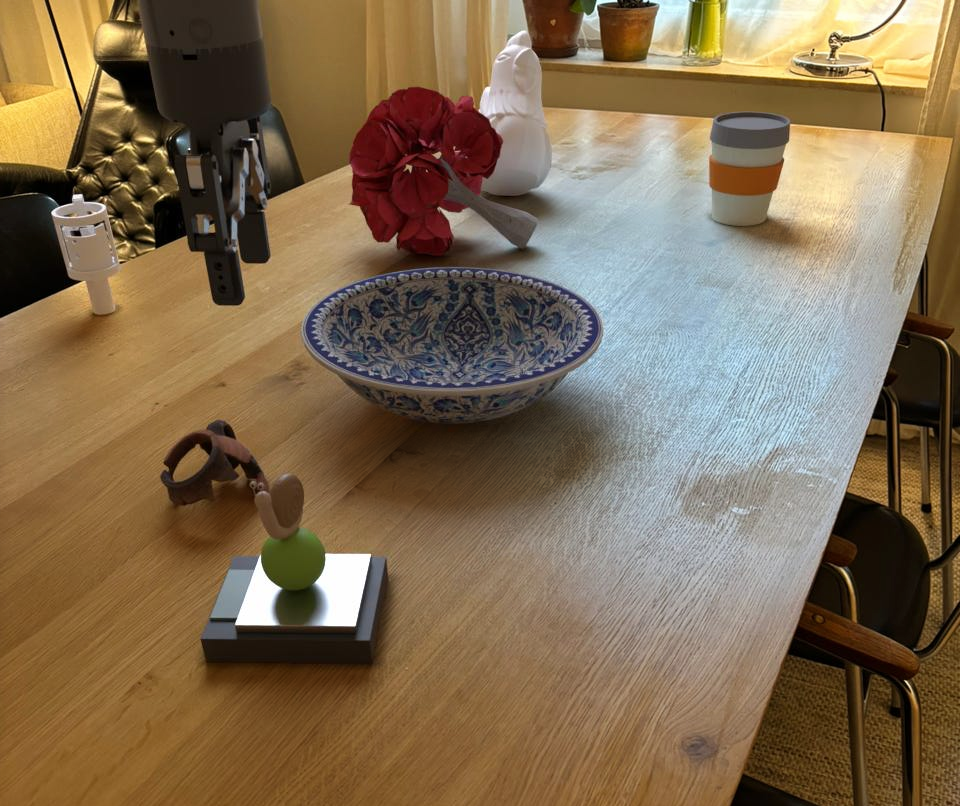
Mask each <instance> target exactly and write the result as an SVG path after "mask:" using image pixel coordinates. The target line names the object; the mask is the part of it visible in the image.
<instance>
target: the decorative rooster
mask: <svg viewBox="0 0 960 806" xmlns="http://www.w3.org/2000/svg"><path fill="white" fill-rule="evenodd" d="M532 44H533V41H532V39H531V36H530V34H529V32H528V31H527V30H521V31H519V32H518V33H516V34H515V35H513V36H511V37H510V38H509V40H508V41H506V44H505V47H504V49H503V50H502V51H500V52H499V54H498V55H497V56H496V57H495V60H494V62H493V65H492V69H491V76H490V84H489V86H486V87H485V88H484V90H483V92H482V95H481V97H480V101H479V110H478V112H479V113H481V114H483V115H484V116H485V117H487V118H488V119H489V120H490V124H491V127H492V128H494V129H495V130H496V133H497V134H499V135H500V136H501V137H502V140H503V144H502V148H501V151H500V157H499V158H498V160H497V164H496V167H495V169H494V172H493V174H492V175H491V176H490V177H489V178H488V179H486V178H484V177H483V181H482V185H481V189H480V190H481V191H483V192H486V193H487V194H491V195H493V196H505V197H506V196H509V197H519V196H523V195H524V194H527V193H528V192H530V191H532V190H536V189H538V188H539V187H540V186H542V185H543V183H544V182H545V181H546V179H547V177H548V175H549V173H550V171H551V168H552V162H553V149H552V143H551V140H550V136H549V132H548V131H547V128H548V126H547V125H548V124H547V122H546V117H545V113H544V108H543V101H542V100H543V99H542V87H543V86H542V85H543V72H542V65H541V64H540V63H541V62H540V58H539V57H538V55H537V54H536V52H535V51H534V50H533V48H532V47H533V46H532ZM466 158H467V157H466Z"/></svg>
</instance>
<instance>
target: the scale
mask: <svg viewBox="0 0 960 806" xmlns="http://www.w3.org/2000/svg"><path fill="white" fill-rule="evenodd" d="M259 557H260V555H233V556H232V558H231V562H230V564H229V567H228V569H227V571H226V573H225V576H224V579H223V581H222V584H221V586H220V589H219V591H218V594H217V597H216V599H215V601H214V604H213V607H212V609H211V611H210V614H209V617H208V619H207V622H206V624H205V626H204V629H203V631H202V634H201V637H200V643H201V646H202V650H203V655H204V659H205V662H206V663H265V664H266V663H269V664H270V663H273V664H274V663H275V664H276V663H279V664H353V665H354V664H357V665H358V664H361V665H363V664H365V665H366V664H367V665H368V664H369V665H370V664H371V665H372V664H374V659H375V658H374V657H375V651H376V647H377V646H376V645H377V641H378V637H379V631H380V626H381V622H382V621H381V620H382V615H383V610H384V605H385V600H386V599H385V598H386V595H387V588H388V584H389V572H388V571H389V570H388V561H387V560H388V559H387V556H371V558H372V563H371V568H370V572H369V577H368V582H367V586H366V591H365V596H364V600H363V605H362V610H361V614H360V619H359V624H358V629H357V633H356V634H345V633H242V632H236V629H235V623H236V620H237V617H238V615H239V612H240V609H241V606H242V604H243V601H244V598H245V595H246V593H247V590H248V587H249V584H250V582H251V579H252V576H253V573H254V571H255V568H256V565H257V562H258V560H259Z"/></svg>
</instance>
